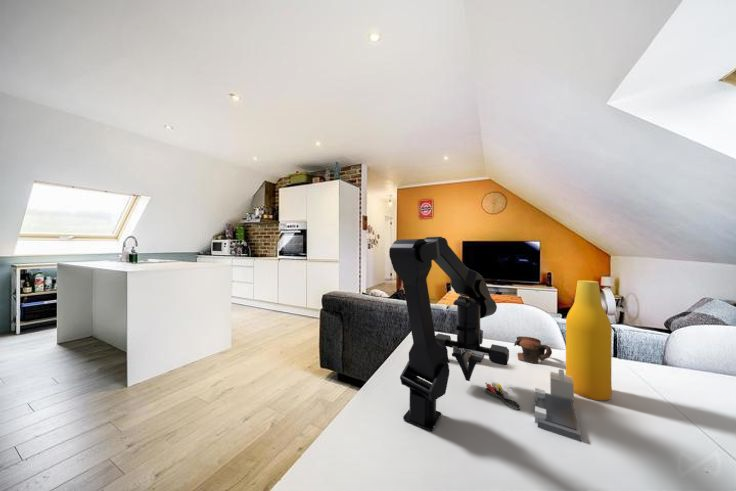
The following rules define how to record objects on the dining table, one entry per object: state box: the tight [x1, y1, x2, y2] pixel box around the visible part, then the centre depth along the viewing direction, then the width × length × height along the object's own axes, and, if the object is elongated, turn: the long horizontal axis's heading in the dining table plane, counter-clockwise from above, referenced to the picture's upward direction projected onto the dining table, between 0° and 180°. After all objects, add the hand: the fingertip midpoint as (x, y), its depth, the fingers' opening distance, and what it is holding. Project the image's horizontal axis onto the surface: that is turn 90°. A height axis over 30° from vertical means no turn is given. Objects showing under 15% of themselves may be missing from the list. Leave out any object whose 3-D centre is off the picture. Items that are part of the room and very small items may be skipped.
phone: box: [534, 387, 582, 442], centre depth 57 cm, size 14×8×2 cm, turn 147°
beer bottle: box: [565, 279, 613, 402], centre depth 67 cm, size 9×9×29 cm
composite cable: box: [484, 380, 521, 411], centre depth 64 cm, size 10×5×2 cm, turn 7°
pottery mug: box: [513, 336, 553, 365], centre depth 87 cm, size 12×9×8 cm
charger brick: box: [549, 368, 575, 405], centre depth 64 cm, size 4×4×7 cm
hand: (467, 380), depth 68 cm, fingers closed
